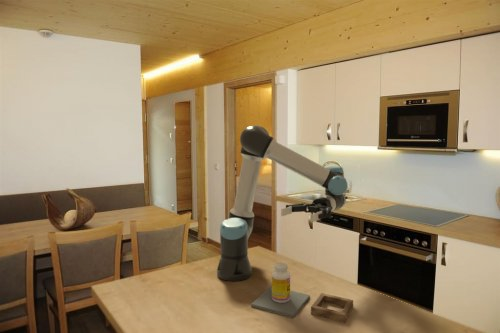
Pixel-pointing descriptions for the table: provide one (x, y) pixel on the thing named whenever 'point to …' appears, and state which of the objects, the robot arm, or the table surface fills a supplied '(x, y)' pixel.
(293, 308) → the slate mat
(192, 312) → the table surface
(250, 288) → the table surface
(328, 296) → the locating collar
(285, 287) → the supplement bottle
